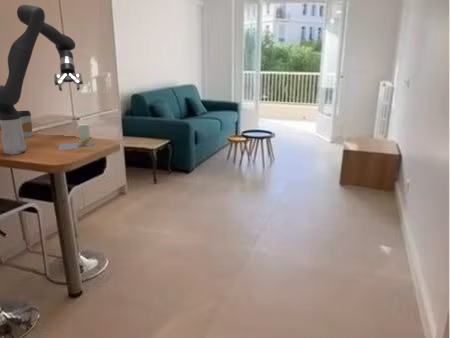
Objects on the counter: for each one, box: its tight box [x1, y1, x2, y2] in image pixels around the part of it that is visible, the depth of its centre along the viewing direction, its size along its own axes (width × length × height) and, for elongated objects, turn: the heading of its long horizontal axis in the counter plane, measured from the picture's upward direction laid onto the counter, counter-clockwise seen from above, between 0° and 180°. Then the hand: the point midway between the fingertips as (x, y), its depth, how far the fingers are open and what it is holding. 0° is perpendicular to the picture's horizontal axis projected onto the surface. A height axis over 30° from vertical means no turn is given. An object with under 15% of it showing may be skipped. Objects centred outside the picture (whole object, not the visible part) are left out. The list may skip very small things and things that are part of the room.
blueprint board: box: [58, 140, 96, 151], centre depth 198 cm, size 18×12×1 cm, turn 110°
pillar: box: [78, 123, 91, 141], centre depth 197 cm, size 4×4×9 cm
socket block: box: [77, 136, 94, 147], centre depth 199 cm, size 8×8×3 cm
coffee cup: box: [17, 110, 34, 139], centre depth 219 cm, size 8×8×15 cm
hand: (69, 89), depth 202 cm, fingers open, 8 cm apart
